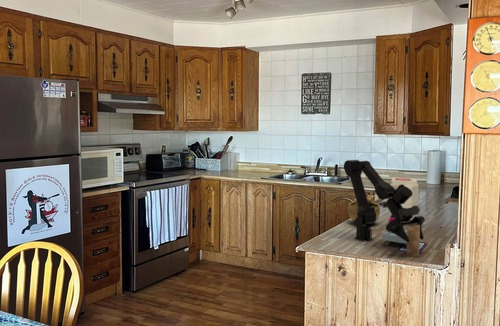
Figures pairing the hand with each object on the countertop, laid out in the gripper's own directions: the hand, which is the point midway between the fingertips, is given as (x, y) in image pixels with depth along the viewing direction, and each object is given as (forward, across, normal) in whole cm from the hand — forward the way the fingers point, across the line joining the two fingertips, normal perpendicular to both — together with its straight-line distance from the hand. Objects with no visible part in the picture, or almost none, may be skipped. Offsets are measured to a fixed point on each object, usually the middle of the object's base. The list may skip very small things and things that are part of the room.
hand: (415, 240), depth 204 cm
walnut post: (+4, 0, +6) cm, 7 cm away
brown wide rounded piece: (-35, +23, +45) cm, 61 cm away
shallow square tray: (-6, +8, +16) cm, 19 cm away
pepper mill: (-20, +25, +30) cm, 44 cm away
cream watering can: (-56, +77, +66) cm, 116 cm away
